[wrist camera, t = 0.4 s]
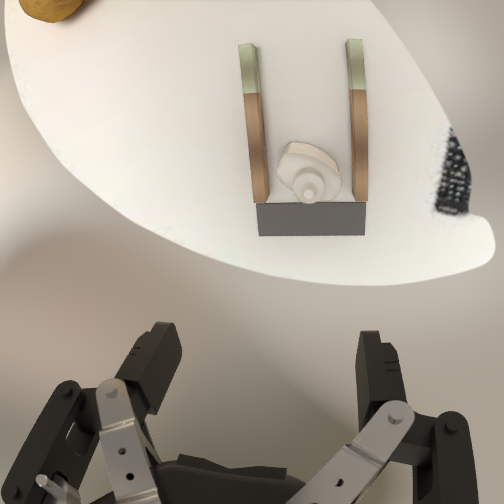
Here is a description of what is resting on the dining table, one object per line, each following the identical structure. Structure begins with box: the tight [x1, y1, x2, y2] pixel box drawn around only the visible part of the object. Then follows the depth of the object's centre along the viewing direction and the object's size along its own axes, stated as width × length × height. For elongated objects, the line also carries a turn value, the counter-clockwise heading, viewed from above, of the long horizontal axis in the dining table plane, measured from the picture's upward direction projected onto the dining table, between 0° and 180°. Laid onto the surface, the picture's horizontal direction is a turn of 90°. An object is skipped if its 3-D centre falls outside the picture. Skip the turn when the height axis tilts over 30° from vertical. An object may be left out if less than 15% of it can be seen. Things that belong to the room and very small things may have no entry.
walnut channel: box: [238, 39, 368, 203], centre depth 29 cm, size 16×11×3 cm
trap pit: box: [256, 202, 366, 236], centre depth 35 cm, size 4×12×1 cm, turn 95°
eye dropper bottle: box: [276, 142, 342, 204], centre depth 28 cm, size 4×6×12 cm
